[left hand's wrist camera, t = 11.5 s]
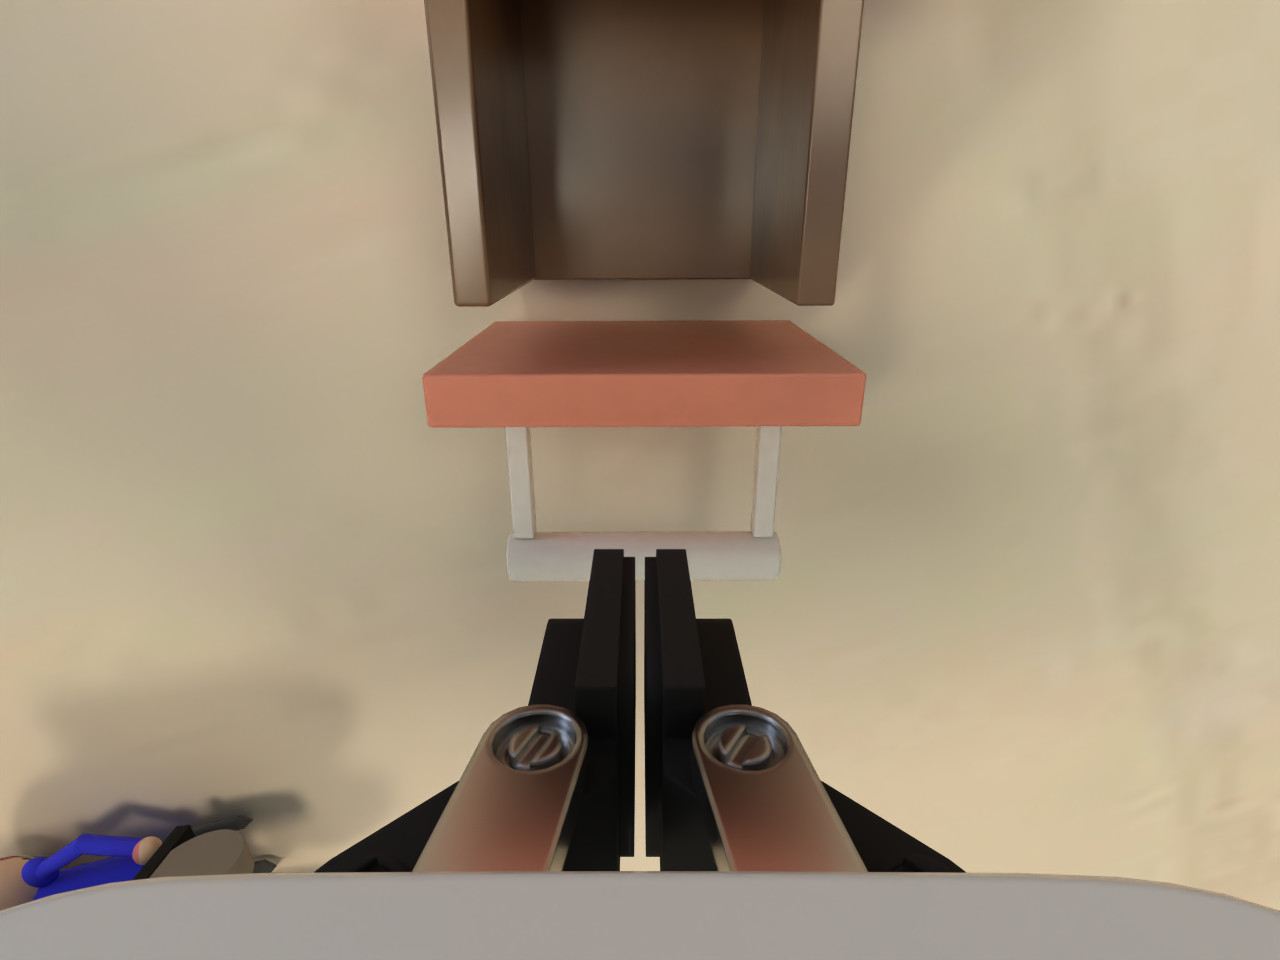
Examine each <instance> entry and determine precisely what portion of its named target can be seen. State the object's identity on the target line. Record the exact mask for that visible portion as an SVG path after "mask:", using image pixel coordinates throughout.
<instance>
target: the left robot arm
mask: <svg viewBox="0 0 1280 960" xmlns="http://www.w3.org/2000/svg"><path fill="white" fill-rule="evenodd" d="M635 708H636V633H635V557H624V549H594V553H593V560H592V567H591V574H590V581H589V588H588V596H587V603H586V610H585V617H584V619H549V620H548V623H547V627H546V631H545V636H544V640H543V644H542V649H541V653H540V657H539V661H538V666H537V670H536V674H535V679H534V683H533V687H532V692H531V696H530V700H529V704H528V706H525V707H520V708H517V709H515V710H512V711H510V712H508V713H506V714H503V715H502V716H501V717H499V718H498V719H497V720H495V721H494V722H493V723H492V724H491V725H490V726H489V728H488V729H487V730H486V732H485V733H484V734H483V736H482V738H481V740H480V742H479V744H478V746H477V748H476V750H475V752H474V754H473V756H472V757H471V759H470V761H469V763H468V765H467V767H466V769H465V771H464V773H463V775H462V777H461V779H460V780H459V781H458V782H456V783H454V784H453V785H451V786H450V787H448V788H446V789H445V790H443V791H441V792H440V793H438V794H437V795H435V796H433V797H432V798H430V799H428V800H427V801H425V802H424V803H422V804H420V805H419V806H417V807H415V808H414V809H412V810H410V811H409V812H407V813H406V814H404V815H402V816H401V817H399V818H397V819H396V820H394V821H393V822H391V823H389V824H388V825H386V826H384V827H383V828H381V829H380V830H378V831H376V832H375V833H373V834H371V835H370V836H368V837H367V838H365V839H363V840H362V841H360V842H358V843H357V844H355V845H353V846H352V847H350V848H349V849H347V850H345V851H344V852H342V853H340V854H339V855H337V856H336V857H334V858H332V859H331V860H329V861H328V862H327V863H325V864H324V865H323V866H321V867H320V868H319V869H318V870H316V871H315V872H314V873H250V874H225V875H200V876H175V877H158V878H149V879H140V880H132V881H123V882H114V883H108V884H103V885H98V886H93V887H88V888H83V889H78V890H73V891H68V892H63V893H59V894H54V895H51V896H47V897H44V898H41V899H37V900H34V901H31V902H28V903H24V904H21V905H18V906H14V907H11V908H8V909H4V910H1V911H0V960H1280V911H1279V910H1276V909H1272V908H1269V907H1266V906H1262V905H1259V904H1256V903H1252V902H1249V901H1246V900H1243V899H1239V898H1236V897H1233V896H1229V895H1226V894H1221V893H1217V892H1212V891H1207V890H1202V889H1197V888H1192V887H1187V886H1182V885H1177V884H1172V883H1166V882H1157V881H1148V880H1140V879H1131V878H1122V877H1105V876H1080V875H1054V874H1029V873H966V872H965V871H964V870H962V869H961V868H960V867H959V866H957V865H956V864H955V863H953V862H952V861H951V860H949V859H948V858H946V857H944V856H943V855H941V854H940V853H938V852H936V851H935V850H933V849H931V848H930V847H928V846H927V845H925V844H923V843H922V842H920V841H918V840H917V839H915V838H913V837H912V836H910V835H909V834H907V833H905V832H904V831H902V830H900V829H899V828H897V827H896V826H894V825H892V824H891V823H889V822H887V821H886V820H884V819H883V818H881V817H879V816H878V815H876V814H874V813H873V812H871V811H870V810H868V809H866V808H865V807H863V806H861V805H860V804H858V803H856V802H855V801H853V800H852V799H850V798H848V797H847V796H845V795H843V794H842V793H840V792H839V791H837V790H835V789H834V788H832V787H830V786H829V785H827V784H826V783H824V782H822V781H821V780H820V779H819V777H818V775H817V773H816V771H815V769H814V767H813V765H812V763H811V761H810V759H809V757H808V756H807V754H806V752H805V750H804V748H803V746H802V744H801V742H800V740H799V738H798V736H797V734H796V733H795V732H794V730H793V729H792V728H791V726H790V725H789V724H788V723H787V722H786V721H785V720H783V719H782V718H781V717H779V716H778V715H777V714H774V713H772V712H770V711H768V710H765V709H763V708H760V707H755V706H752V704H751V700H750V696H749V692H748V687H747V683H746V679H745V674H744V670H743V666H742V662H741V657H740V653H739V649H738V644H737V640H736V636H735V631H734V627H733V623H732V620H731V619H696V617H695V610H694V603H693V596H692V588H691V581H690V574H689V567H688V560H687V553H686V549H656V557H645V632H644V708H645V816H646V857H660V871H620V857H634V815H635Z"/></svg>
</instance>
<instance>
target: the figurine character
mask: <svg viewBox="0 0 1280 960" xmlns="http://www.w3.org/2000/svg"><path fill="white" fill-rule="evenodd" d="M252 820H253V819H250V818H246V817H242V816H236V817H232V818H227V819H223V820H219V821H215V822H211V823H206V824H202V825H198V826H194V827H191V826H190V825H185V826H177V827H176V828H175V829H174V830H173V831H172V833H171V834H170V835H169V836H168V837H167V839H166V840H165V841H164V842H163V843H162V841H161V840H160V839H159V838H157V837H154V836H150V837H146V838H132V837H118V836H104V835H91V834H83V835H81V836H80V837H79V838H77V839H76V840H74V841H73V842H71V843H70V844H68V845H67V846H65V847H64V848H62V849H61V850H59V851H58V852H56V853H55V854H53V855H52V856H50V857H49V858H47V857H34V856H12V857H6V858H1V859H0V911H1V910H4V909H8V908H11V907H14V906H18V905H21V904H24V903H28V902H31V901H34V900H37V899H41V898H44V897H47V896H51V895H54V894H59V893H63V892H68V891H73V890H78V889H83V888H88V887H93V886H98V885H103V884H108V883H114V882H123V881H132V880H140V879H149V878H158V877H175V876H200V875H225V874H250V873H271V872H272V871H273V869H274V868H275V867H276V866H277V865H275V864H273V863H271V862H269V861H267V860H265V859H264V860H260V861H256V862H254V860H253V858H252V856H251V853H250V851H249V849H248V847H247V845H246V843H245V840H244V838H243V836H242V835H241V834H240V833H239V832H237V831H235V830H239V829H243V828H245V827H246V826H247V825H248V824H249V823H250V822H251V821H252ZM82 854H86V855H101V856H116V857H113V858H109V859H104V860H100V861H96V862H92V863H88V864H83V865H79V866H75V867H71V868H67V869H63V870H62V869H61V868H63V867H64V866H66V865H67V864H69V863H70V862H72V861H73V860H75V859H76V858H78V857H79V856H81V855H82Z"/></svg>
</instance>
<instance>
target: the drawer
mask: <svg viewBox="0 0 1280 960" xmlns="http://www.w3.org/2000/svg"><path fill="white" fill-rule="evenodd" d="M424 4H425V14H426V24H427V34H428V44H429V54H430V64H431V74H432V84H433V94H434V104H435V114H436V124H437V134H438V144H439V154H440V164H441V174H442V184H443V194H444V204H445V214H446V224H447V234H448V244H449V254H450V264H451V274H452V284H453V294H454V302H455V304H456V305H457V306H490V305H492V304H494V303H495V302H497V301H499V300H500V299H502V298H504V297H505V296H507V295H509V294H510V293H512V292H514V291H515V290H517V289H519V288H520V287H522V286H524V285H525V284H527V283H529V282H530V281H532V280H587V279H752V280H754V281H755V282H757V283H759V284H761V285H762V286H764V287H766V288H768V289H770V290H771V291H773V292H775V293H777V294H779V295H780V296H782V297H784V298H786V299H787V300H789V301H791V302H793V303H795V304H796V305H833V304H834V300H835V290H836V280H837V270H838V260H839V249H840V239H841V229H842V219H843V209H844V199H845V188H846V178H847V168H848V158H849V148H850V138H851V127H852V117H853V107H854V97H855V87H856V77H857V66H858V56H859V46H860V36H861V26H862V16H863V5H864V0H424ZM422 378H423V386H424V395H425V403H426V411H427V419H428V425H429V427H505V432H506V444H507V457H508V470H509V483H510V495H511V508H512V521H513V533H511V534H510V536H509V539H508V543H507V551H506V566H507V574H508V577H509V579H510V580H511V581H590V574H591V567H592V560H593V553H594V549H624V557H635V581H645V557H656V549H686V553H687V560H688V567H689V574H690V581H721V580H776V579H778V577H779V573H780V568H781V549H780V542H779V538H778V535H777V533H776V532H774V531H773V530H774V517H775V504H776V490H777V477H778V464H779V451H780V437H781V426H858V425H860V423H861V414H862V406H863V398H864V389H865V381H866V374H865V373H864V372H863V371H861V370H860V369H858V368H857V367H856V366H854V365H853V364H851V363H850V362H848V361H847V360H845V359H844V358H843V357H841V356H840V355H838V354H837V353H835V352H834V351H832V350H831V349H830V348H828V347H827V346H825V345H824V344H822V343H821V342H819V341H818V340H817V339H815V338H814V337H812V336H811V335H809V334H808V333H806V332H805V331H804V330H802V329H801V328H799V327H798V326H796V325H795V324H793V323H792V322H791V321H554V322H494V323H493V324H492V325H490V326H489V327H488V328H486V329H485V330H483V331H482V332H481V333H479V334H478V335H477V336H475V337H474V338H473V339H471V340H470V341H468V342H467V343H466V344H464V345H463V346H462V347H460V348H459V349H458V350H456V351H455V352H454V353H452V354H451V355H449V356H448V357H447V358H445V359H444V360H443V361H441V362H440V363H439V364H437V365H436V366H434V367H433V368H432V369H430V370H429V371H428V372H426V373H425V374H424V375H423V377H422ZM688 426H757V433H756V449H755V466H754V482H753V498H752V514H751V531H745V532H536V516H535V501H534V486H533V470H532V455H531V439H530V427H688Z"/></svg>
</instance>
